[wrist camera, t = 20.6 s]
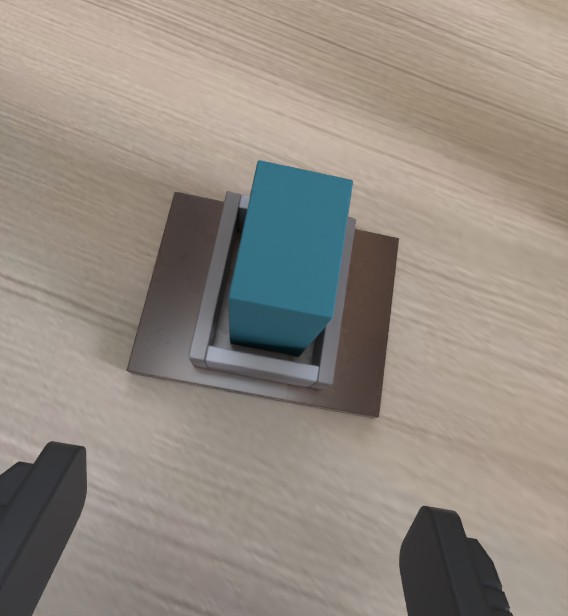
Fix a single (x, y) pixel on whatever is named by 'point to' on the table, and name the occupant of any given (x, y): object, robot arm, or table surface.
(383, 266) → the board
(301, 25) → the table surface
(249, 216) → the teal rectangular block
